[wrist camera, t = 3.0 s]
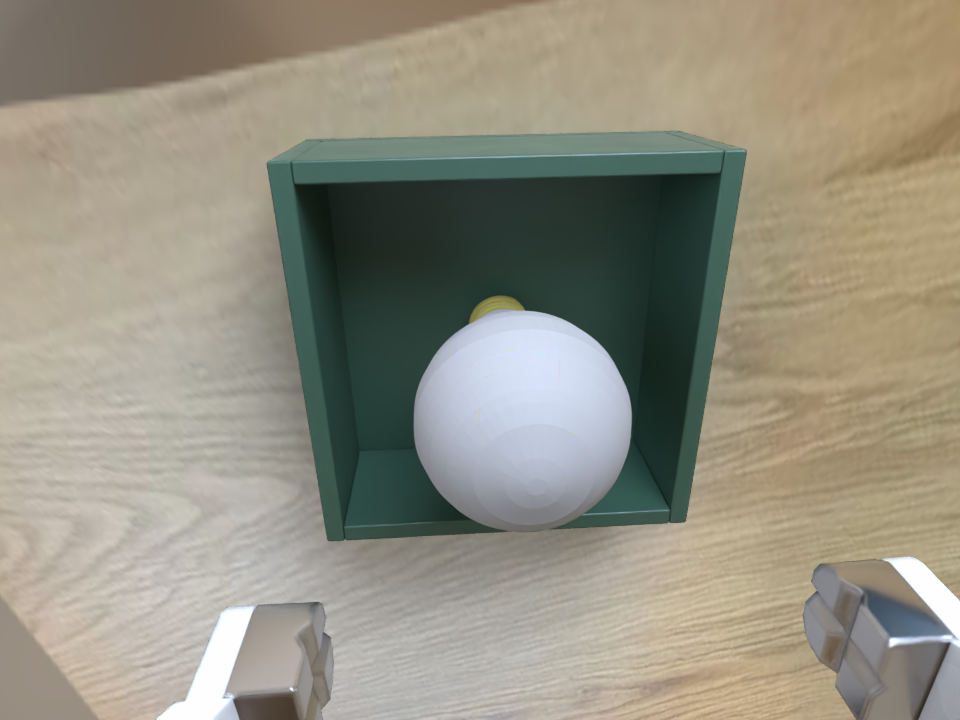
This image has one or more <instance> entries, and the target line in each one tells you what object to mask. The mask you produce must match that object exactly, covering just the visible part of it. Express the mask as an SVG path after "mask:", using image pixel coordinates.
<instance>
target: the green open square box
mask: <svg viewBox="0 0 960 720" xmlns="http://www.w3.org/2000/svg"><path fill="white" fill-rule="evenodd" d="M746 153H747V151H746V150H745V149H742V148H738V147H735V146H731V145H727V144H724V143H720V142H717V141H713V140H709V139H706V138H702V137H698V136H695V135H691V134H688V133H684V132H681V131H653V132H610V133H568V134H525V135H482V136H439V137H396V138H353V139H310V140H305V141H303V142H302V143H300V144H298V145H297V146H295V147H293V148H291V149H289V150H288V151H286V152H284V153H282V154H280V155H279V156H277V157H275V158H273V159H272V160H270V161H268V162H267V169H268V175H269V181H270V188H271V194H272V200H273V206H274V212H275V219H276V225H277V231H278V237H279V243H280V250H281V256H282V262H283V268H284V275H285V281H286V287H287V293H288V299H289V306H290V312H291V318H292V324H293V330H294V337H295V343H296V349H297V355H298V361H299V368H300V374H301V380H302V386H303V392H304V399H305V405H306V411H307V417H308V423H309V430H310V436H311V442H312V448H313V455H314V461H315V467H316V473H317V479H318V486H319V492H320V498H321V504H322V510H323V517H324V523H325V529H326V535H327V540H328V541H342V540H345V539H346V540H362V539H381V538H399V537H418V536H437V535H456V534H475V533H494V532H512V531H506V530H501V529H496V528H492V527H489V526H486V525H483V524H481V523H478V522H476V521H474V520H472V519H470V518H468V517H467V516H465V515H464V514H462V513H461V512H460V511H458V510H457V509H456V508H455V507H454V506H453V505H451V504H450V503H449V502H448V501H447V500H446V499H445V498H444V497H443V496H442V495H441V494H440V493H439V491H438V490H437V489H436V487H435V486H434V485H433V483H432V481H431V480H430V478H429V476H428V474H427V472H426V471H425V469H424V467H423V465H422V463H421V461H420V458H419V456H418V453H417V449H416V445H415V439H414V405H415V398H416V393H417V390H418V386H419V383H420V381H421V379H422V376H423V374H424V373H425V371H426V369H427V367H428V366H429V364H430V362H431V360H432V359H433V357H434V356H435V354H436V353H437V351H438V350H439V349H440V348H441V346H442V345H443V344H444V343H445V342H446V341H447V340H448V339H449V338H450V337H451V336H453V335H454V334H455V333H456V332H458V331H459V330H460V329H462V328H464V327H465V326H467V325H469V319H470V315H471V313H472V312H473V310H474V308H475V307H476V306H477V305H478V304H479V303H480V302H482V301H483V300H485V299H487V298H489V297H492V296H499V295H501V296H509V297H512V298H514V299H516V300H517V301H518V302H520V304H521V305H522V306H523V308H524V309H525V311H535V312H541V313H546V314H549V315H553V316H556V317H558V318H561V319H563V320H565V321H567V322H569V323H571V324H573V325H574V326H576V327H577V328H579V329H581V330H582V331H584V332H585V333H587V334H588V335H590V336H591V337H592V338H593V339H595V340H596V341H597V342H598V343H599V344H600V345H601V346H602V347H603V348H604V349H605V350H606V352H607V353H608V354H609V356H610V357H611V359H612V360H613V362H614V364H615V365H616V367H617V369H618V371H619V373H620V375H621V377H622V379H623V381H624V384H625V386H626V388H627V391H628V394H629V398H630V402H631V410H632V425H631V439H630V446H629V450H628V454H627V457H626V459H625V462H624V464H623V467H622V469H621V472H620V474H619V476H618V478H617V480H616V481H615V483H614V485H613V486H612V487H611V489H610V490H609V491H608V493H607V494H606V495H605V496H604V497H603V498H602V499H601V500H600V501H599V502H598V503H597V504H596V505H595V506H593V507H592V508H591V509H589V510H588V511H587V512H585V513H584V514H582V515H581V516H579V517H578V518H576V519H574V520H572V521H570V522H568V523H566V524H564V525H561V526H558V527H555V528H552V529H569V528H588V527H607V526H625V525H644V524H663V523H668V522H670V523H682V522H686V517H687V511H688V505H689V499H690V493H691V487H692V481H693V475H694V469H695V463H696V456H697V450H698V444H699V438H700V432H701V426H702V420H703V414H704V408H705V402H706V396H707V390H708V384H709V378H710V372H711V366H712V359H713V353H714V347H715V341H716V335H717V329H718V323H719V317H720V311H721V305H722V299H723V293H724V287H725V281H726V275H727V269H728V262H729V256H730V250H731V244H732V238H733V232H734V226H735V220H736V214H737V208H738V202H739V196H740V190H741V184H742V178H743V172H744V165H745V159H746ZM548 530H550V529H548Z"/></svg>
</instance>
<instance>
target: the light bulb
mask: <svg viewBox="0 0 960 720" xmlns="http://www.w3.org/2000/svg"><path fill="white" fill-rule="evenodd" d="M631 425H632V410H631V402H630V398H629V394H628V391H627V388H626V386H625V384H624V381H623V379H622V377H621V375H620V373H619V371H618V369H617V367H616V365H615V364H614V362H613V360H612V359H611V357H610V356H609V354H608V353H607V352H606V350H605V349H604V348H603V347H602V346H601V345H600V344H599V343H598V342H597V341H596V340H595V339H593V338H592V337H591V336H590V335H588V334H587V333H585V332H584V331H582V330H581V329H579V328H577V327H576V326H574V325H573V324H571V323H569V322H567V321H565V320H563V319H561V318H558V317H556V316H553V315H549V314H546V313H541V312H535V311H525V309H524V308H523V306H522V305H521V304H520V302H518V301H517V300H516V299H514V298H512V297H509V296H501V295H499V296H492V297H489V298H487V299H485V300H483V301H482V302H480V303H479V304H478V305H477V306H476V307H475V308H474V310H473V312H472V313H471V315H470V319H469V325H467V326H465V327H464V328H462V329H460V330H459V331H458V332H456V333H455V334H454V335H453V336H451V337H450V338H449V339H448V340H447V341H446V342H445V343H444V344H443V345H442V346H441V348H440V349H439V350H438V351H437V353H436V354H435V356H434V357H433V359H432V360H431V362H430V364H429V366H428V367H427V369H426V371H425V373H424V374H423V376H422V379H421V381H420V383H419V386H418V390H417V393H416V398H415V405H414V439H415V445H416V449H417V453H418V456H419V458H420V461H421V463H422V465H423V467H424V469H425V471H426V472H427V474H428V476H429V478H430V480H431V481H432V483H433V485H434V486H435V487H436V489H437V490H438V491H439V493H440V494H441V495H442V496H443V497H444V498H445V499H446V500H447V501H448V502H449V503H450V504H451V505H453V506H454V507H455V508H456V509H457V510H458V511H460V512H461V513H462V514H464V515H465V516H467V517H468V518H470V519H472V520H474V521H476V522H478V523H481V524H483V525H486V526H489V527H492V528H496V529H501V530H506V531H514V532H535V531H543V530H548V529H552V528H555V527H558V526H561V525H564V524H566V523H568V522H570V521H572V520H574V519H576V518H578V517H579V516H581V515H582V514H584V513H585V512H587V511H588V510H589V509H591V508H592V507H593V506H595V505H596V504H597V503H598V502H599V501H600V500H601V499H602V498H603V497H604V496H605V495H606V494H607V493H608V491H609V490H610V489H611V487H612V486H613V485H614V483H615V481H616V480H617V478H618V476H619V474H620V472H621V469H622V467H623V464H624V462H625V459H626V457H627V454H628V450H629V446H630V439H631Z"/></svg>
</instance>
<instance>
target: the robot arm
mask: <svg viewBox="0 0 960 720" xmlns="http://www.w3.org/2000/svg"><path fill="white" fill-rule="evenodd" d="M811 582H812V584H813V585H814V587H815V588H816V589H817V591H816V592H815V593H814V594H813V595H812V596H811V597H810V598H809V599H808V600H807V601H806V602H805V607H804V612H803V622H804V629H805V634H806V637H807V639H808V642H809V644H810V647H811V648H812V650H813V652H814V653H815V655H816V657H817V658H818V660H819V661H820V662H821V663H823V664H824V665H826V666H827V667H829V668H830V669H832V670H833V671H835V672H836V673H837V674H836V683H835V687H836V689H837V690H838V692H839V693H840V695H841V696H842V698H843V699H844V701H845V703H846V704H847V706H848V707H849V709H850V710H851V712H852V714H853V715H854V717H855V718H856V720H960V601H959V600H958V599H957V598H956V597H955V596H954V595H953V594H952V593H951V592H950V591H949V590H948V589H947V588H946V586H945V585H944V584H943V583H942V582H941V581H940V580H939V579H938V578H937V577H936V576H935V575H934V574H933V573H932V572H931V571H930V570H929V569H928V568H927V567H926V566H925V565H924V564H923V563H922V562H921V561H919V560H918V559H916V558H914V557H912V556H910V557H898V558H886V559H879V560H877V559H871V560H860V561H848V562H837V563H825V564H819V565H818V566H817V567H816V568H815V570H814V572H813V576H812V579H811ZM325 622H326V615H325V611H324V607H323V603H320V602H308V603H287V604H267V605H257V606H237V607H226V608H225V610H224V611H223V612H222V613H221V614H220V616H219V617H218V620H217V622H216V625H215V627H214V630H213V632H212V635H211V637H210V639H209V642H208V644H207V647H206V649H205V652H204V654H203V657H202V659H201V661H200V664H199V666H198V669H197V671H196V674H195V676H194V679H193V681H192V683H191V686H190V688H189V691H188V693H187V696H186V698H185V701H184V702H174V703H173V704H172V705H171V706H170V707H169V708H168V709H167V710H166V711H164V712H163V713H162V714H161V715H160V716H159V717H158V718H157V719H156V720H323V717H322V712H321V710H322V708H323V707H324V706H325V705H326V704H327V703H328V701H329V700H330V696H331V690H332V684H333V668H334V659H333V647H332V642H331V637H329V636H328V635H327V634H325V633H324V627H325Z"/></svg>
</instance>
